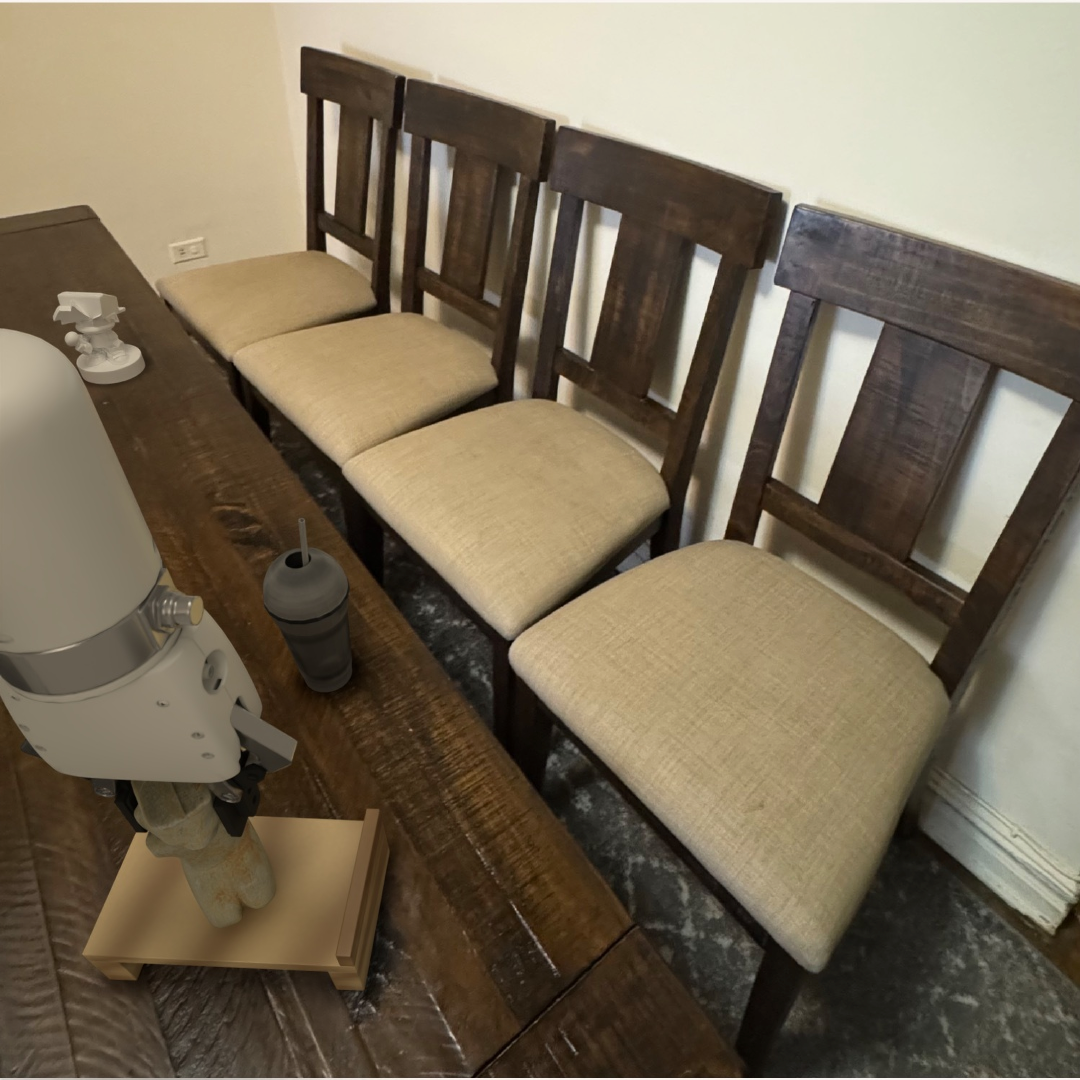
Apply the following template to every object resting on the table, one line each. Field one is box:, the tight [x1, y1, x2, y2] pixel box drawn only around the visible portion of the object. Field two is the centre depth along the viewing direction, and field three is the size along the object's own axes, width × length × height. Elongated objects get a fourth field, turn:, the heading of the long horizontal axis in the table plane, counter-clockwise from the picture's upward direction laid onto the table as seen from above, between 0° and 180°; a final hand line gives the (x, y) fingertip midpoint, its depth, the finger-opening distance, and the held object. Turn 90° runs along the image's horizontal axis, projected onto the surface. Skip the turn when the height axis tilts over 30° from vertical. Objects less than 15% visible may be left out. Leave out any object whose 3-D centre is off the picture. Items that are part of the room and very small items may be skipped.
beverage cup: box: [262, 517, 353, 693], centre depth 65 cm, size 7×7×20 cm
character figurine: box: [52, 291, 146, 385], centre depth 107 cm, size 9×10×12 cm
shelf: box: [81, 808, 390, 992], centre depth 53 cm, size 18×10×7 cm, turn 88°
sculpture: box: [131, 780, 276, 928], centre depth 46 cm, size 6×7×15 cm
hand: (198, 810), depth 45 cm, fingers closed on sculpture, 4 cm apart
